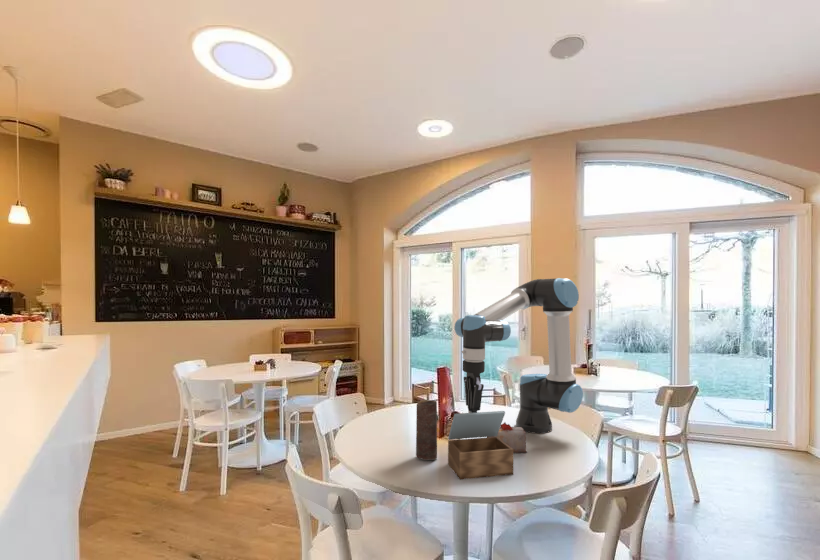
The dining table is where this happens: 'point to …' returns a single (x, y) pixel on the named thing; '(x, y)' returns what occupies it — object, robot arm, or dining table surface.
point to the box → (480, 457)
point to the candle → (426, 430)
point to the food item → (513, 437)
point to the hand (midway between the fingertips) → (472, 428)
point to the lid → (476, 424)
